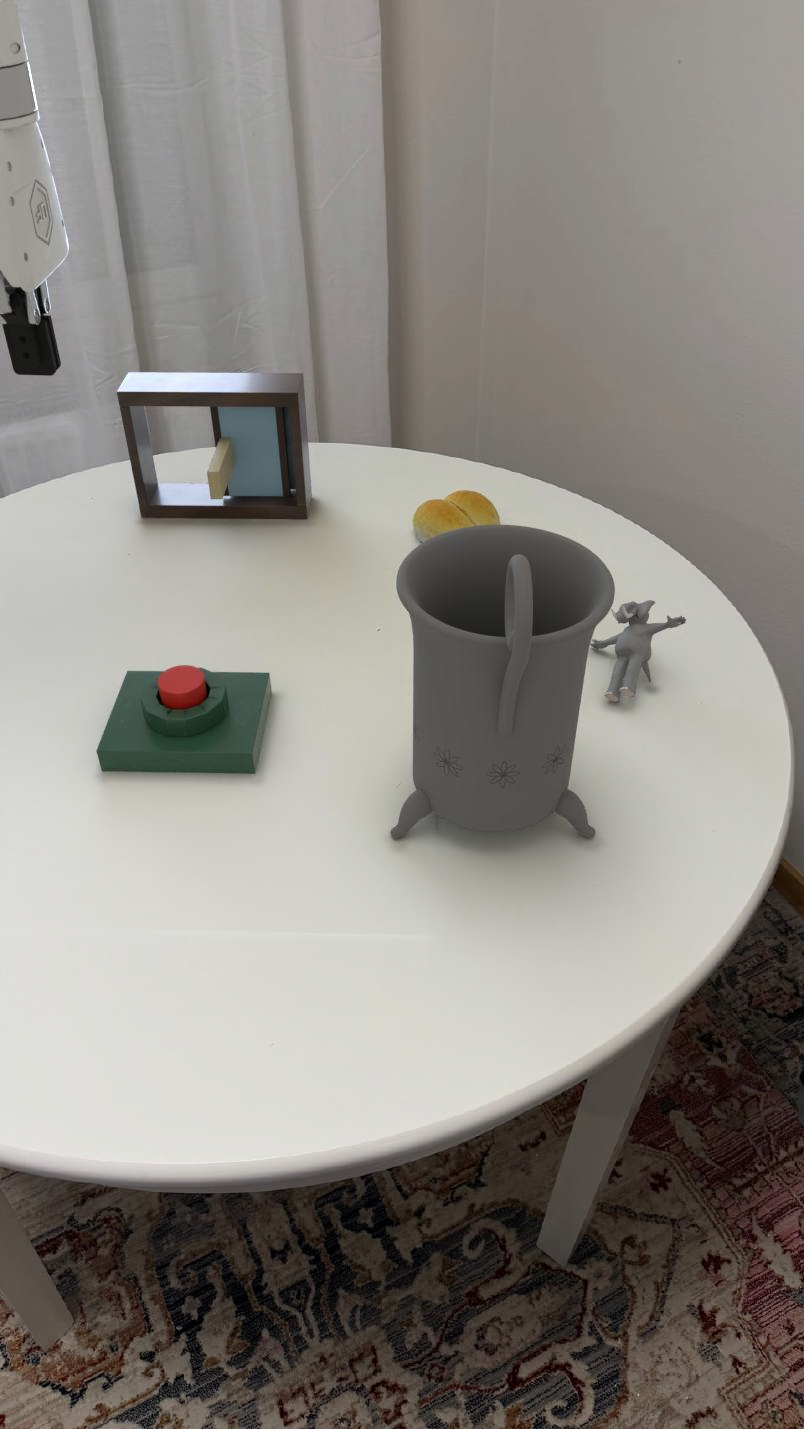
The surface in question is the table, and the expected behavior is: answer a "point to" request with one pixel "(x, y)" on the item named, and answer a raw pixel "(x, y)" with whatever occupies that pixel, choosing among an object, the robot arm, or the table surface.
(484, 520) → the bread roll
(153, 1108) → the table surface
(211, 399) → the window frame
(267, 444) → the window pane
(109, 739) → the button box
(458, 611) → the mug
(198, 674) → the button
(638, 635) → the elephant figurine
